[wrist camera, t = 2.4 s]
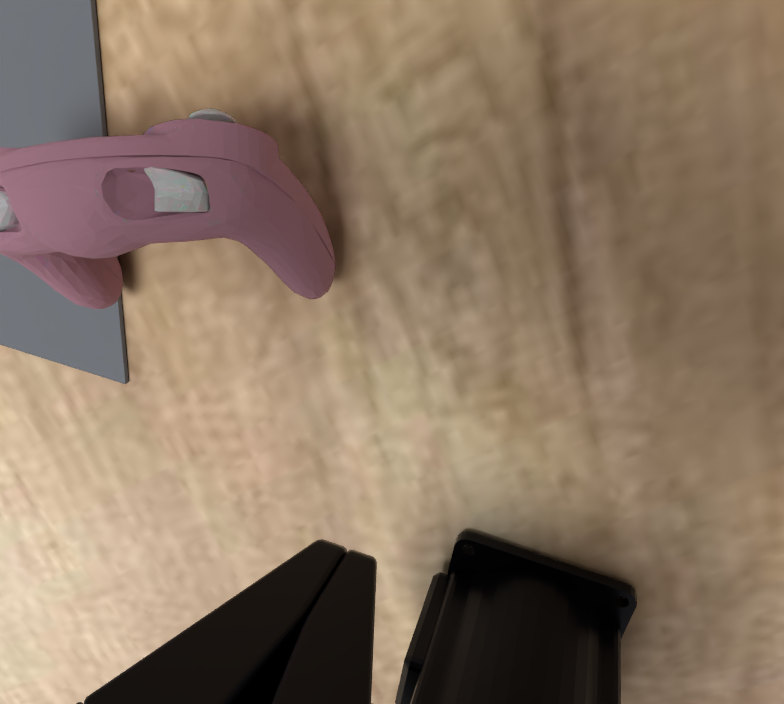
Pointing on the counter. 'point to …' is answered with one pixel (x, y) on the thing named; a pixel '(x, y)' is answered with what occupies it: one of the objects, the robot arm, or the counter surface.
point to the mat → (43, 125)
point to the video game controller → (157, 204)
